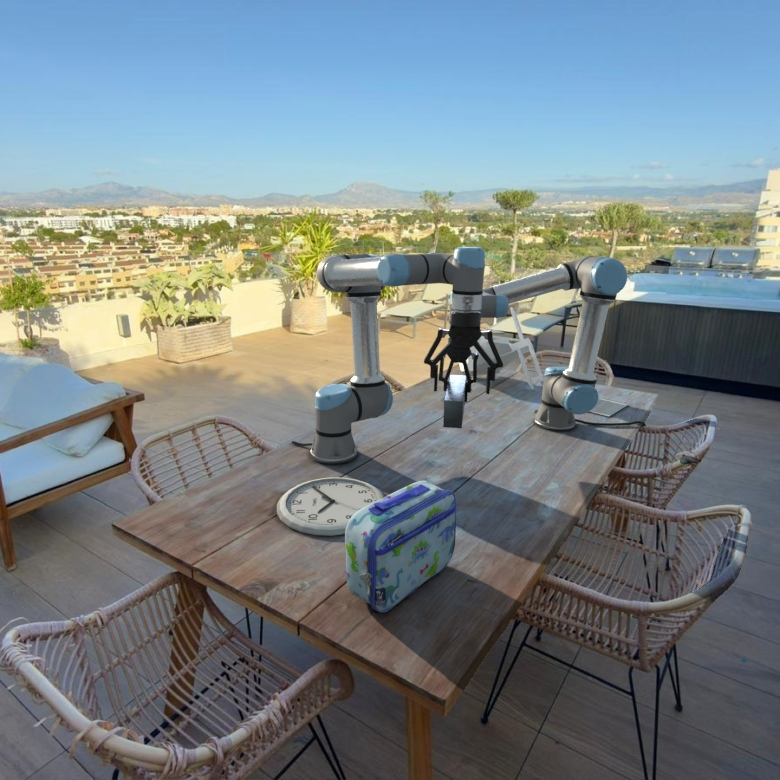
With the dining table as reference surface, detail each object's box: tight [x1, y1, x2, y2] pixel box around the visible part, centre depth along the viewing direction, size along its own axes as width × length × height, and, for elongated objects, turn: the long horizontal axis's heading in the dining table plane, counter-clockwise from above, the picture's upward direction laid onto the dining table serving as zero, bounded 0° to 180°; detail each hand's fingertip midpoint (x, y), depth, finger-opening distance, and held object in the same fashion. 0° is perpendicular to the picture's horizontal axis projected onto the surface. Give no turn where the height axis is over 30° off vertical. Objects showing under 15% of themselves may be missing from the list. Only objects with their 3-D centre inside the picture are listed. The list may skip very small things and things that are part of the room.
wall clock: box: [276, 476, 386, 537], centre depth 142 cm, size 30×2×30 cm
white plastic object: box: [458, 306, 544, 391], centre depth 259 cm, size 37×45×31 cm
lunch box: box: [344, 480, 457, 614], centre depth 109 cm, size 26×11×21 cm, turn 135°
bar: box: [442, 374, 467, 429], centre depth 172 cm, size 29×6×9 cm, turn 170°
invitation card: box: [588, 397, 629, 418], centre depth 226 cm, size 21×1×15 cm
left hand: (461, 391), depth 138 cm, fingers open, 13 cm apart
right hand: (456, 400), depth 183 cm, fingers closed on bar, 6 cm apart
